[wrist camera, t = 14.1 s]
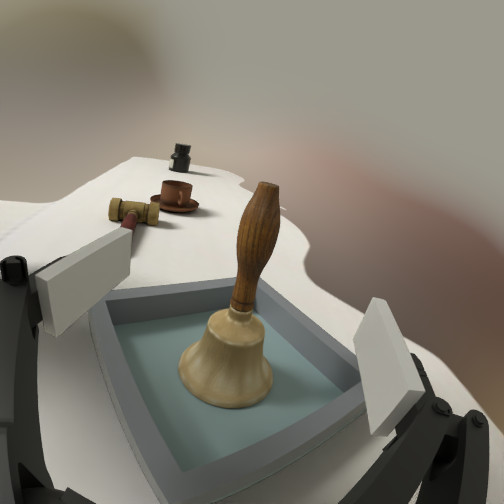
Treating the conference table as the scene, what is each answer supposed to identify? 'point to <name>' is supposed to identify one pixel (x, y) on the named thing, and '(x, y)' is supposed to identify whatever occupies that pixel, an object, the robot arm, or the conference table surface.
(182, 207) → the cup and saucer
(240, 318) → the hand bell
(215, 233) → the conference table surface
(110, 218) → the gavel
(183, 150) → the ink bottle
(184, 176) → the conference table surface
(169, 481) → the box
